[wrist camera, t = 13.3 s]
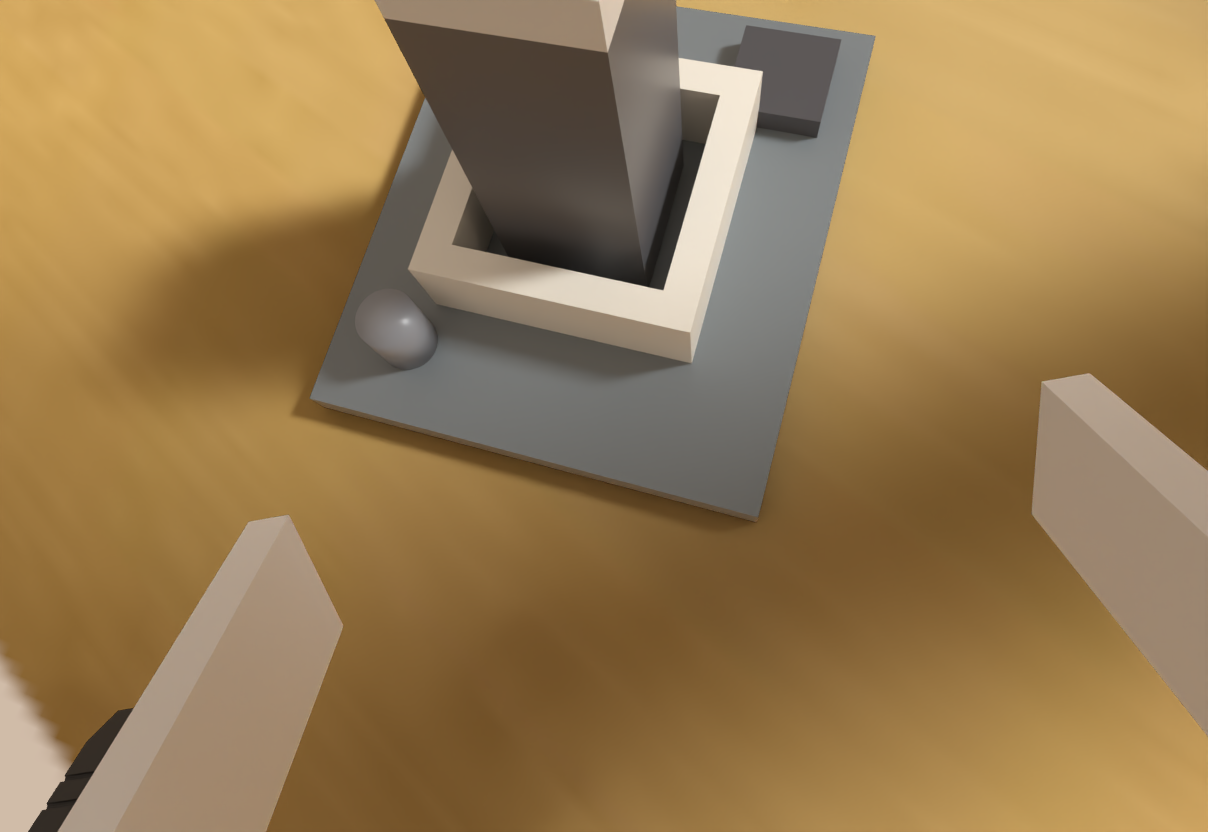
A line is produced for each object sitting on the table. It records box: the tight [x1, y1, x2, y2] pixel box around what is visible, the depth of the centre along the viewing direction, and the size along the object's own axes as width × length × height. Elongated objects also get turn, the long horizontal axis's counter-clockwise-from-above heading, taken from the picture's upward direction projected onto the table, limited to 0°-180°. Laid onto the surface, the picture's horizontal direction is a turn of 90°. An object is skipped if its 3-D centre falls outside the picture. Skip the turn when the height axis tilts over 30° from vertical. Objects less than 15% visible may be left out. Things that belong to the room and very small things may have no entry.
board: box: [310, 6, 875, 522], centre depth 24 cm, size 16×14×4 cm
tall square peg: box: [375, 0, 684, 287], centre depth 20 cm, size 4×4×12 cm
